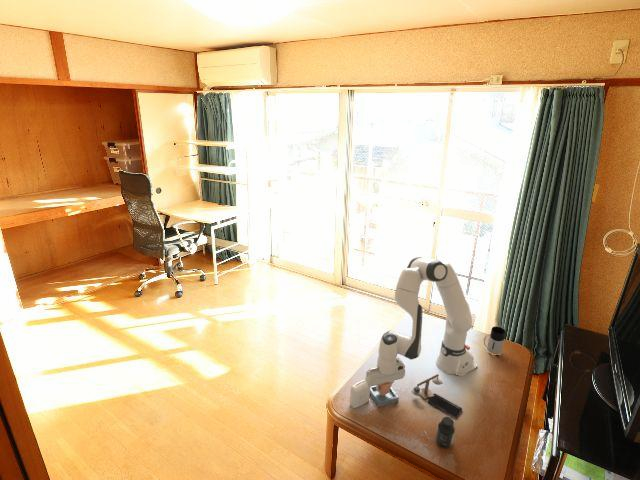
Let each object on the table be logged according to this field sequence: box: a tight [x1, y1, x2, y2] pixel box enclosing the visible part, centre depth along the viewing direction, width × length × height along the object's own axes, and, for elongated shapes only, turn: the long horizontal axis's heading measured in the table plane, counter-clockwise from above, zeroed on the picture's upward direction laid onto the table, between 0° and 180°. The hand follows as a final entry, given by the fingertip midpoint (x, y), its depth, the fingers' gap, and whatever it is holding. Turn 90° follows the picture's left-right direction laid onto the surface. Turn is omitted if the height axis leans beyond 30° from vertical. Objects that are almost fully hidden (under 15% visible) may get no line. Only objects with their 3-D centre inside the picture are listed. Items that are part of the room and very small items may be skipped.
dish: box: [370, 385, 400, 408], centre depth 183 cm, size 11×11×2 cm
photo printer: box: [349, 379, 371, 409], centre depth 177 cm, size 10×4×12 cm, turn 124°
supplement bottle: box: [435, 416, 456, 449], centre depth 158 cm, size 7×7×12 cm
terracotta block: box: [378, 382, 391, 396], centre depth 182 cm, size 4×4×6 cm
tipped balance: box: [411, 373, 443, 401], centre depth 184 cm, size 17×6×11 cm, turn 111°
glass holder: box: [483, 325, 507, 354], centre depth 216 cm, size 9×14×15 cm, turn 113°
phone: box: [427, 393, 463, 420], centre depth 179 cm, size 8×1×15 cm
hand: (383, 387), depth 182 cm, fingers closed on terracotta block, 5 cm apart
